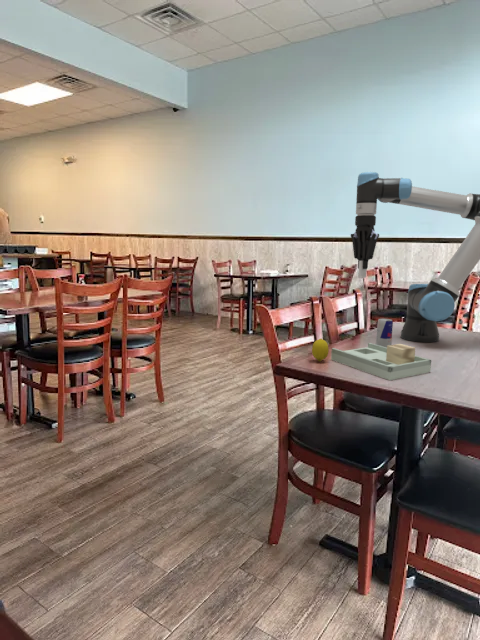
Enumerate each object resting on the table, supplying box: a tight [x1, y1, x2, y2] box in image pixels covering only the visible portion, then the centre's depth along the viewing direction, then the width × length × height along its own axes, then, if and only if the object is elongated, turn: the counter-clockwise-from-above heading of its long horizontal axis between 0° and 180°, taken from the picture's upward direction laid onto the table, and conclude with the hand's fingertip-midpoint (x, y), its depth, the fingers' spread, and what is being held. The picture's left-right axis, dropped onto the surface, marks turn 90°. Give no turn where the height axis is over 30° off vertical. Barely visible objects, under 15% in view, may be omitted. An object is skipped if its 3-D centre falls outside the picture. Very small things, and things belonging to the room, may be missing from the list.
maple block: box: [386, 343, 416, 365], centre depth 142 cm, size 6×6×5 cm
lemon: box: [311, 338, 330, 362], centre depth 151 cm, size 6×6×8 cm
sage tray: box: [330, 342, 432, 381], centre depth 147 cm, size 18×26×4 cm
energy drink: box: [375, 318, 394, 348], centre depth 165 cm, size 5×5×12 cm
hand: (362, 277), depth 174 cm, fingers closed
